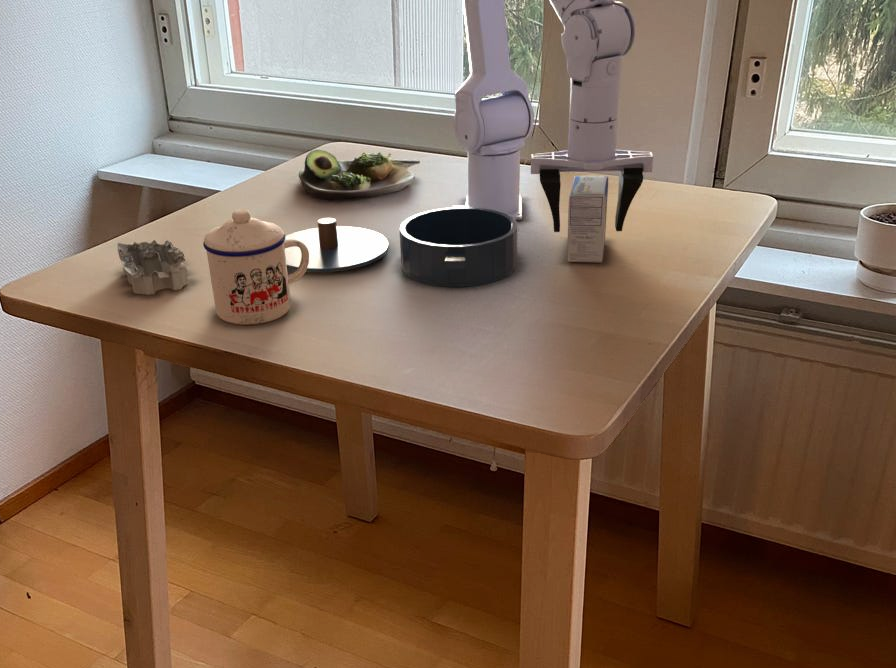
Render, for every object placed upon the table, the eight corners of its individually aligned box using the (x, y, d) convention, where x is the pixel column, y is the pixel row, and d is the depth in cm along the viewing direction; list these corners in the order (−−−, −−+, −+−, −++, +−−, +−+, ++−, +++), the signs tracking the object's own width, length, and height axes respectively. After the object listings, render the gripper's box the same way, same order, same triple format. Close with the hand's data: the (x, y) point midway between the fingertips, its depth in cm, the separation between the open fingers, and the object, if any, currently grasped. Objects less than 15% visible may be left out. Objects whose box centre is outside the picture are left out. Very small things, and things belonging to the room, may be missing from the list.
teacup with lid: (231, 333, 111) (215, 231, 105) (203, 306, 118) (187, 208, 112) (328, 308, 116) (319, 209, 110) (296, 283, 123) (286, 189, 117)
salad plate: (403, 159, 166) (402, 130, 164) (442, 189, 152) (441, 158, 150) (289, 175, 161) (286, 146, 159) (318, 207, 147) (315, 176, 144)
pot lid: (259, 277, 125) (254, 242, 123) (282, 234, 138) (279, 202, 135) (382, 276, 124) (380, 241, 121) (394, 233, 137) (392, 200, 134)
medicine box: (602, 264, 124) (606, 194, 120) (565, 262, 125) (568, 193, 120) (605, 241, 131) (609, 175, 126) (570, 240, 132) (573, 174, 127)
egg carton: (192, 289, 123) (187, 257, 121) (130, 299, 121) (123, 267, 119) (179, 259, 131) (173, 229, 129) (120, 268, 129) (114, 238, 127)
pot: (394, 296, 118) (392, 255, 116) (408, 237, 135) (407, 201, 132) (517, 295, 117) (517, 254, 114) (516, 236, 134) (517, 199, 131)
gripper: (532, 127, 116) (529, 240, 124) (660, 124, 115) (649, 239, 122) (531, 112, 122) (529, 221, 129) (652, 109, 121) (643, 220, 128)
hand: (587, 229), depth 126 cm, fingers open, 7 cm apart
